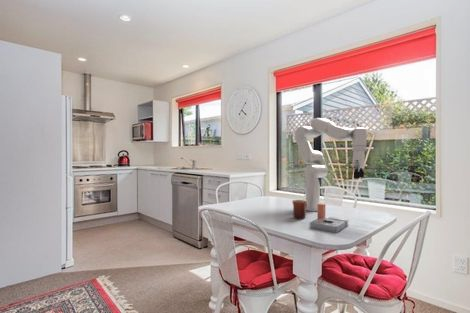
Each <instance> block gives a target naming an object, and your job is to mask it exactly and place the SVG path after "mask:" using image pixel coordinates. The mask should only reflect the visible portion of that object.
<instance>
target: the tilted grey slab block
mask: <svg viewBox="0 0 470 313" xmlns="http://www.w3.org/2000/svg"><path fill="white" fill-rule="evenodd" d="M327 219H334V220H340V221H346V227H345V228H347V227H348V226H349V219H346V218H341V217H335V216H333V217H332V216H329V217H328V218H327Z"/></svg>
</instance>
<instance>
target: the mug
mask: <svg viewBox="0 0 470 313" xmlns="http://www.w3.org/2000/svg"><path fill="white" fill-rule="evenodd" d="M291 201H292V202H291V203H292V206H293V207H292V213H293V214H292V215H293V218H294V219H297V220H304V219H305V218H306V211H307V210H306V207H307V201H306V200H304V199H294V200H293V199H292V200H291Z"/></svg>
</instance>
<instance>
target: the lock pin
mask: <svg viewBox="0 0 470 313" xmlns="http://www.w3.org/2000/svg"><path fill="white" fill-rule="evenodd" d="M316 215H317V218H316V219H318V218H320V217H321V218H326V203H321V202H320V203H319V204H318V211H317V214H316Z"/></svg>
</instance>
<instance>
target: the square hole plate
mask: <svg viewBox="0 0 470 313" xmlns="http://www.w3.org/2000/svg"><path fill="white" fill-rule="evenodd" d="M309 227H310V229H316V230H320V231H324V232H329V233H331V232H332V233H336V234H337V233H339V232H340V231H342V230H343V229H345V228H347V227H346V221H340V220H334V219H328V218H326V217H325V218H321V217H320V218H318V219H317V218H316V219H314V220H312V221H310V223H309Z"/></svg>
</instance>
